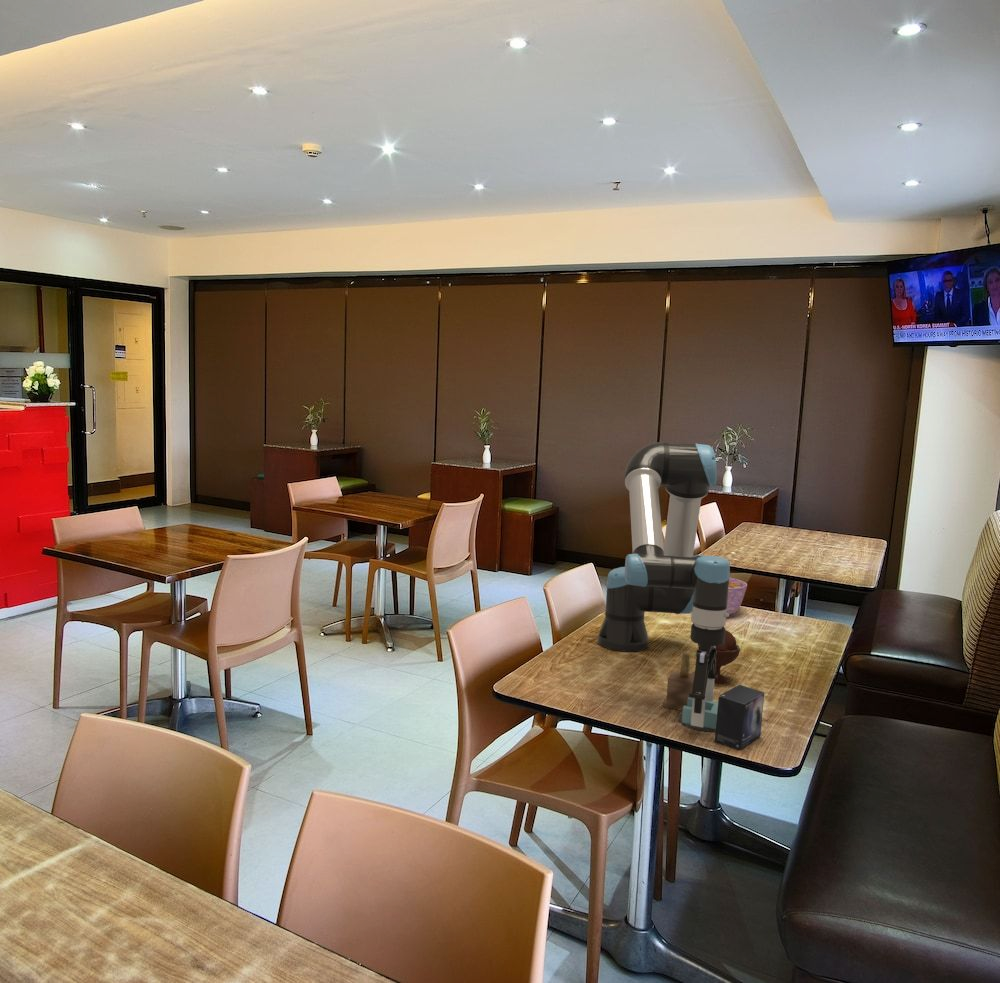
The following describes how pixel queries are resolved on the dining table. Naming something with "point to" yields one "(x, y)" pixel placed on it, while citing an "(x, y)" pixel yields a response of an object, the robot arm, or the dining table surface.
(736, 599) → the bowl of food
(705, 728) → the coaster
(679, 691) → the stand
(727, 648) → the ice cream bowl
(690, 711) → the c link
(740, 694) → the small box
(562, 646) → the dining table surface
